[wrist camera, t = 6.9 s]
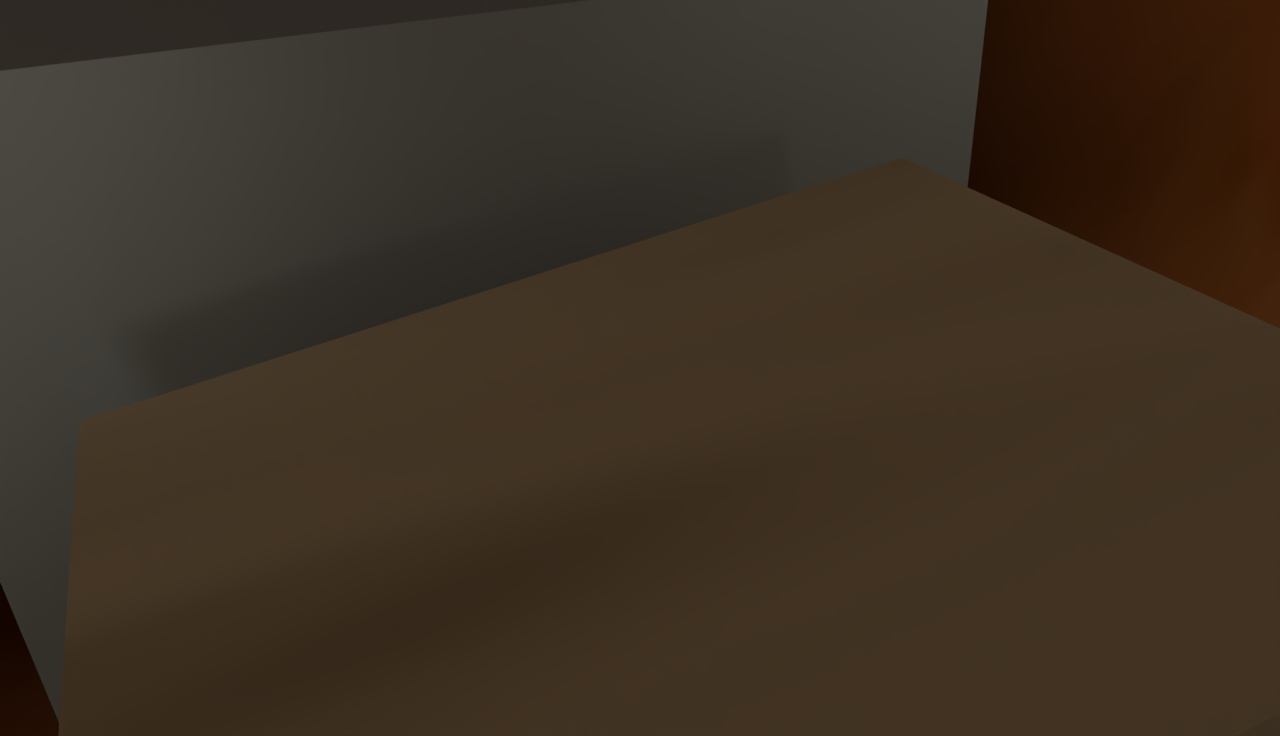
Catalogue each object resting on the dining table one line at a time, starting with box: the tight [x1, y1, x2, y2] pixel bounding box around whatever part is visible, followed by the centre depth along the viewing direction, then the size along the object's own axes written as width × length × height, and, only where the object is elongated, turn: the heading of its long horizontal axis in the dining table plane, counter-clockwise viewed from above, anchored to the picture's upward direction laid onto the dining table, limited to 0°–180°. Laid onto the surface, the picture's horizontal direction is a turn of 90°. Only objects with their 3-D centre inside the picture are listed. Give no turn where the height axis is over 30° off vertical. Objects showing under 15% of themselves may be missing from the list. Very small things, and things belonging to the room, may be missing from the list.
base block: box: [0, 0, 988, 721], centre depth 12 cm, size 9×9×4 cm
